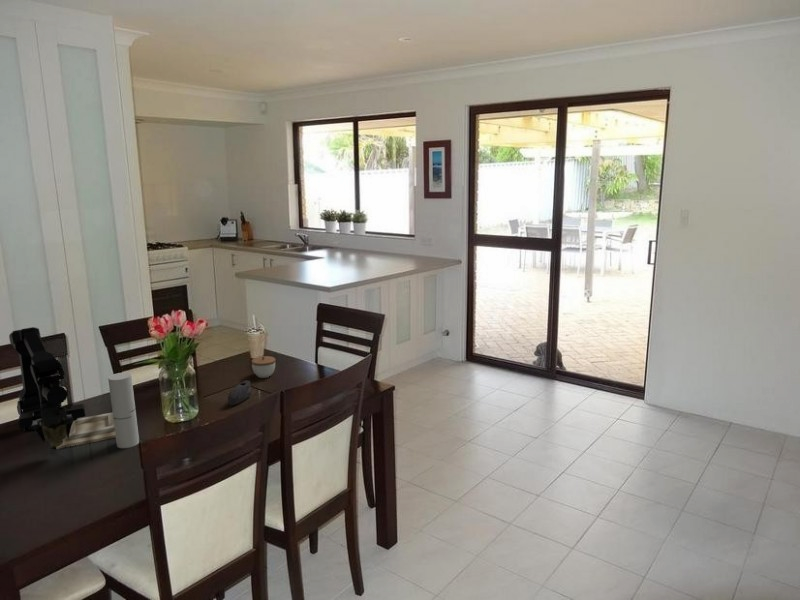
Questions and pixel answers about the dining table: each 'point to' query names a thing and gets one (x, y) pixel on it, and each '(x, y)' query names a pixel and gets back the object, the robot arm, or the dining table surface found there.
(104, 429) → the docking plate
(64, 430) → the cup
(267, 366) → the lidded jar
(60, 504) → the dining table surface
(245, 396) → the perforated stone tool
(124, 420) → the cylindrical container
